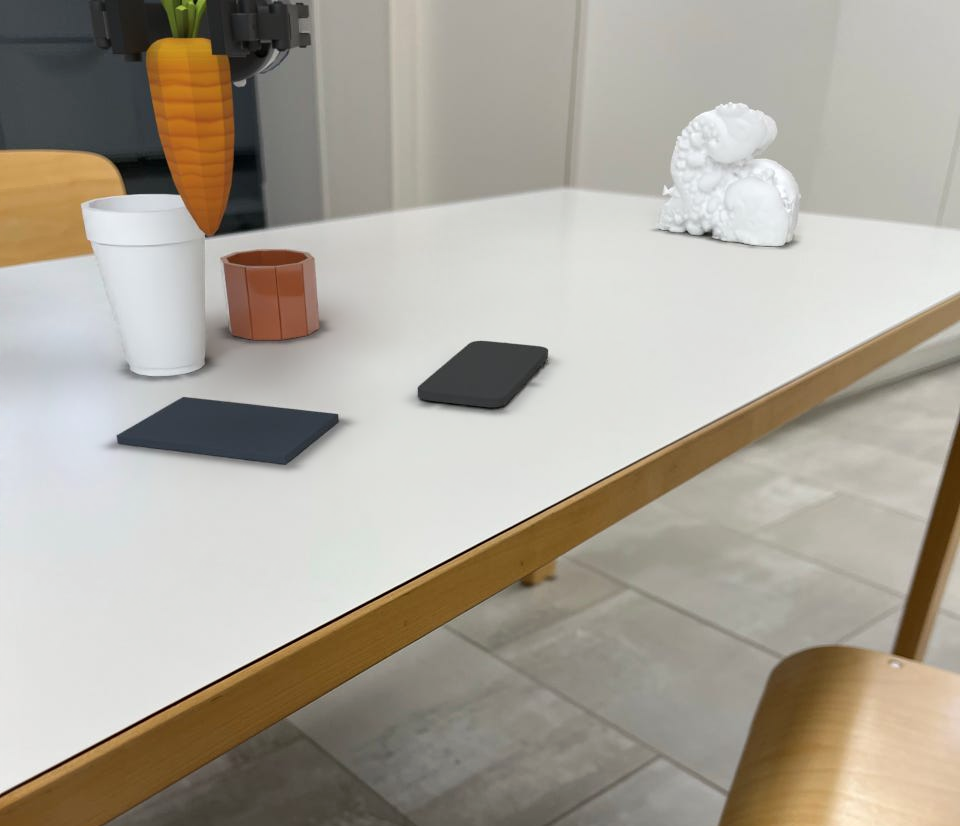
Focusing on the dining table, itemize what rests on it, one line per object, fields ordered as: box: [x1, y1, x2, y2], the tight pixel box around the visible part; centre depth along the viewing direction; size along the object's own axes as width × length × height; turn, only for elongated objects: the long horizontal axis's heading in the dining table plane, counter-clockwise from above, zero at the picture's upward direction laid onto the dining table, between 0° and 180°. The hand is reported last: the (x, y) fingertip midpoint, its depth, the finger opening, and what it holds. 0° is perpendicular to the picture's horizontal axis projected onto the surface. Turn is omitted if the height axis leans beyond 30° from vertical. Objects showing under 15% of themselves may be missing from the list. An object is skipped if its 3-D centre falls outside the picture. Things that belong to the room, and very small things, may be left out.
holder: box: [219, 248, 320, 341], centre depth 97 cm, size 8×9×6 cm
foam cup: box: [80, 193, 206, 377], centre depth 85 cm, size 10×9×13 cm
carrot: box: [145, 0, 236, 238], centre depth 64 cm, size 5×5×15 cm
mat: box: [116, 396, 340, 465], centre depth 74 cm, size 13×9×1 cm
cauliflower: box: [657, 101, 802, 247], centre depth 139 cm, size 19×20×20 cm
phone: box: [417, 340, 549, 408], centre depth 85 cm, size 7×1×15 cm
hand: (165, 26), depth 57 cm, fingers closed on carrot, 5 cm apart
